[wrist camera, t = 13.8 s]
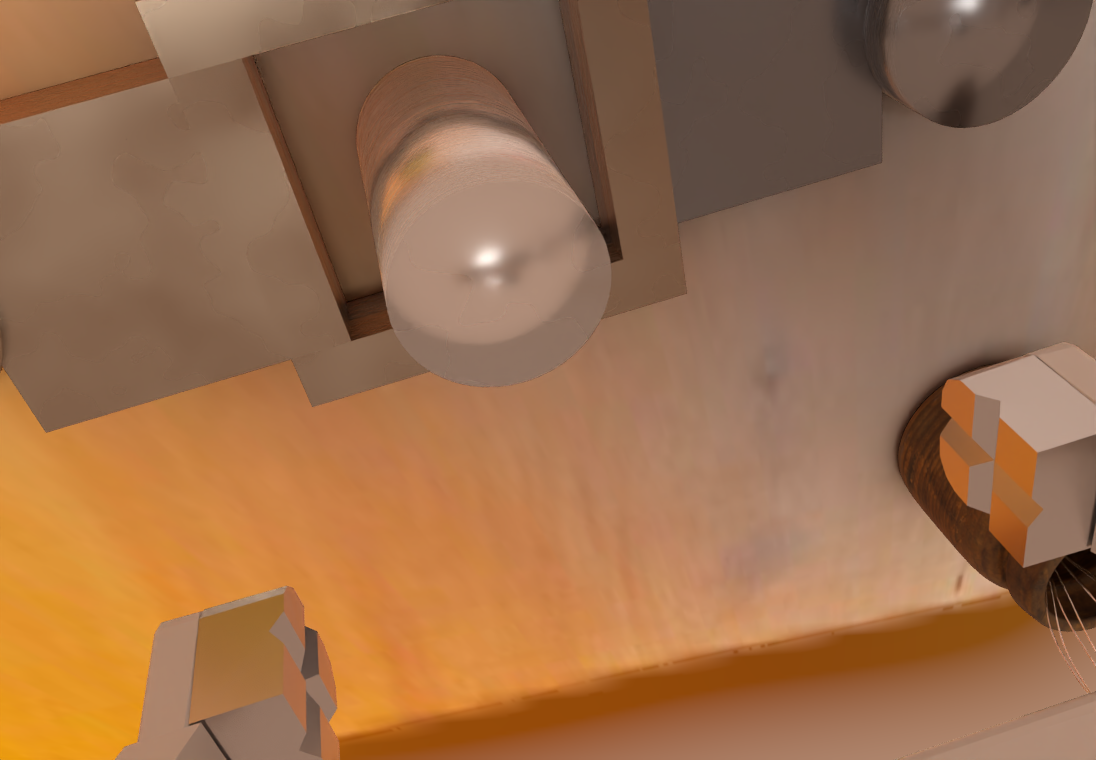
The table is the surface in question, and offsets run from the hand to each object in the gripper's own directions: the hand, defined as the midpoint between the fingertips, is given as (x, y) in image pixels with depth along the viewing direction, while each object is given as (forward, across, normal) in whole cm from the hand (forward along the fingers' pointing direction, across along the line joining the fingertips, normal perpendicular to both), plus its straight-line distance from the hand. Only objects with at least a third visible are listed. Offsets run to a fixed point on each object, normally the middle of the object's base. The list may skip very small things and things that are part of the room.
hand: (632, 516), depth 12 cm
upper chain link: (+14, +6, 0) cm, 15 cm away
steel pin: (+14, 0, 0) cm, 14 cm away
